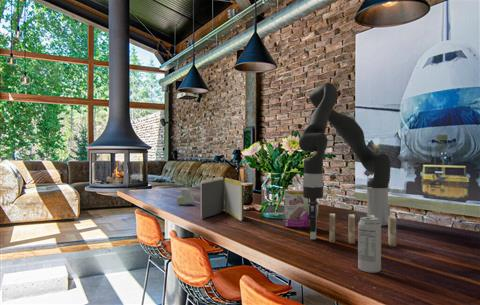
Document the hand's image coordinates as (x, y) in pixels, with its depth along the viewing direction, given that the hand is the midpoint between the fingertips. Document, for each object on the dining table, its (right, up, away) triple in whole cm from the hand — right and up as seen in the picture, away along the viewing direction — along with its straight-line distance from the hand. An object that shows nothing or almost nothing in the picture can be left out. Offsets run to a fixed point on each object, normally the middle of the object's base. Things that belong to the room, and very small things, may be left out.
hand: (313, 229), depth 139 cm
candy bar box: (-3, -4, +25) cm, 25 cm away
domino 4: (+20, -4, -5) cm, 21 cm away
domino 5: (+27, -4, -7) cm, 28 cm away
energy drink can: (+8, -4, -37) cm, 38 cm away
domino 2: (+7, -4, -2) cm, 8 cm away
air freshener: (-63, -4, +95) cm, 114 cm away
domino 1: (0, -3, 0) cm, 3 cm away
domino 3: (+14, -4, -3) cm, 15 cm away
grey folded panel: (-40, -4, +52) cm, 66 cm away
